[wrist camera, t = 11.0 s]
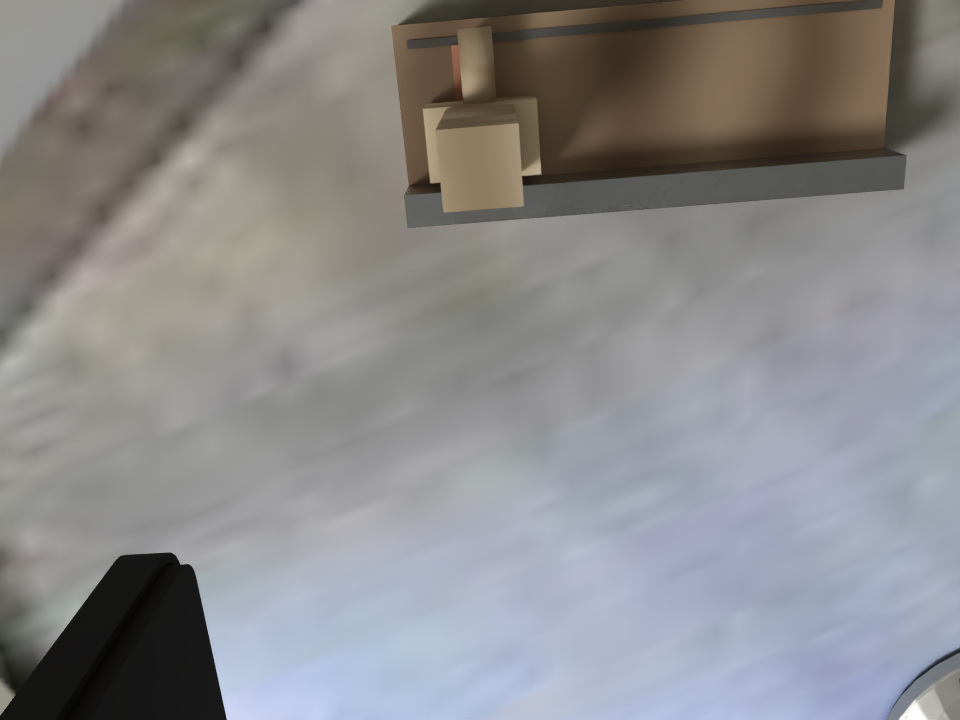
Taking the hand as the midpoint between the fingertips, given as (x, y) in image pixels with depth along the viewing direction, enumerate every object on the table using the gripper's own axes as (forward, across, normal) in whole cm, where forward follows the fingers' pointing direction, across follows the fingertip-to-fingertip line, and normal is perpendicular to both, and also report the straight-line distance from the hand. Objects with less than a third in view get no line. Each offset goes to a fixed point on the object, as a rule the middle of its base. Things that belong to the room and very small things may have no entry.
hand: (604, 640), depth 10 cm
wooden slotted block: (+28, -4, -4) cm, 29 cm away
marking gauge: (+26, +2, -4) cm, 27 cm away
